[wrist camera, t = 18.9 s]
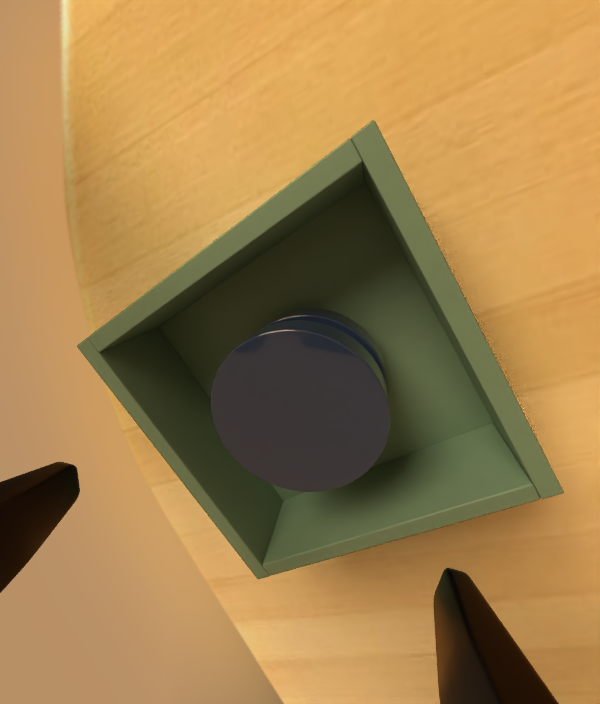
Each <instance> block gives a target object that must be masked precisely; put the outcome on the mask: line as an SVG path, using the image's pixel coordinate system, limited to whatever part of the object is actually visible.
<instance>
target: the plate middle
mask: <svg viewBox="0 0 600 704" xmlns="http://www.w3.org/2000/svg"><path fill="white" fill-rule="evenodd" d="M211 413H212V417H213V422H214V425H215V428H216V431H217V433H218V435H219V437H220V439H221V441H222V443H223V444H224V446H225V447H226V449H227V450H228V452H229V453H230V454H231V455H232V457H233V458H234V459H235V460H236V461H237V462H238V463H239V464H240V465H241V466H243V467H244V468H245V469H246V470H248V471H249V472H250V473H252V474H253V475H255V476H256V477H258V478H260V479H262V480H264V481H265V482H267V483H270V484H272V485H275V486H277V487H281V488H284V489H288V490H294V491H300V492H321V491H327V490H332V489H336V488H339V487H342V486H345V485H347V484H349V483H351V482H353V481H355V480H356V479H358V478H360V477H361V476H362V475H363V474H365V473H366V472H367V471H368V470H369V469H370V468H371V467H372V466H373V465H374V464H375V463H376V461H377V460H378V458H379V457H380V455H381V453H382V451H383V449H384V447H385V445H386V442H387V439H388V435H389V429H390V409H389V399H388V392H387V387H386V383H385V380H384V377H383V374H382V372H381V370H380V368H379V366H378V364H377V363H376V361H375V360H374V359H373V357H372V356H371V354H370V353H369V352H368V351H367V350H366V349H365V348H364V347H363V346H362V345H361V344H360V343H359V342H357V341H356V340H355V339H354V338H352V337H351V336H349V335H348V334H346V333H345V332H343V331H340V330H338V329H336V328H334V327H332V326H329V325H326V324H323V323H318V322H313V321H304V320H292V321H284V322H279V323H275V324H272V325H269V326H266V327H264V328H262V329H260V330H258V331H256V332H255V333H254V334H252V335H251V336H249V337H248V338H247V339H246V340H244V341H243V342H242V343H241V344H240V345H238V346H237V347H236V348H235V349H234V350H233V351H232V352H231V353H230V354H229V355H228V356H227V357H226V358H225V360H224V361H223V362H222V364H221V366H220V367H219V369H218V371H217V373H216V376H215V379H214V381H213V386H212V391H211Z"/></svg>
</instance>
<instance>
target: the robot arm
mask: <svg viewBox="0 0 600 704" xmlns="http://www.w3.org/2000/svg"><path fill="white" fill-rule="evenodd" d="M79 492H80V488H79V480H78V473H77V468H76V467H75V466H74V465H71V464H68V463H64V462H56V463H53V464H50V465H48V466H45V467H42V468H39V469H36V470H34V471H31V472H28V473H25V474H22V475H19V476H16V477H14V478H11V479H8V480H5V481H2V482H0V593H1V592H2V590H3V589H4V588H5V587H6V586H7V585H8V584H9V583H10V582H11V581H12V579H13V578H14V577H15V576H16V575H17V574H18V573H19V572H20V571H21V569H22V568H23V567H24V566H25V565H26V564H27V563H28V561H29V560H30V559H31V558H32V557H33V555H34V554H35V553H36V552H37V550H38V549H39V548H40V546H41V545H42V544H43V542H44V541H45V540H46V539H47V537H48V536H49V535H50V534H51V532H52V530H54V528H55V527H56V526H57V524H58V523H59V522H60V521H61V519H62V518H63V517H64V515H65V514H66V513H67V511H68V510H69V509H70V508H71V506H72V505H73V504H74V502H75V501H76V499H77V498H78V495H79ZM434 620H435V637H436V654H437V671H438V686H439V697H440V704H559V703H558V702H557V701H556V699H555V698H554V696H553V695H552V693H551V692H550V691H549V689H548V688H547V686H546V685H545V683H544V682H543V681H542V679H541V678H540V676H539V675H538V674H537V672H536V671H535V669H534V668H533V666H532V665H531V664H530V662H529V661H528V659H527V658H526V656H525V655H524V654H523V652H522V651H521V649H520V648H519V647H518V645H517V644H516V642H515V641H514V639H513V638H512V637H511V635H510V634H509V632H508V631H507V629H506V628H505V627H504V625H503V624H502V622H501V621H500V619H499V618H498V617H497V615H496V614H495V612H494V611H493V610H492V608H491V607H490V605H489V604H488V602H487V601H486V600H485V598H484V597H483V595H482V594H481V592H480V591H479V590H478V588H477V587H476V585H475V584H474V583H473V581H472V580H471V578H470V577H469V576H468V575H467V574H466V573H464V572H462V571H458V570H454V569H451V568H446V569H445V570H444V572H443V574H442V576H441V579H440V581H439V584H438V586H437V589H436V591H435V595H434Z"/></svg>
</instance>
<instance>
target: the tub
mask: <svg viewBox="0 0 600 704" xmlns="http://www.w3.org/2000/svg"><path fill="white" fill-rule="evenodd" d="M304 308H318V309H325V310H330V311H333V312H336V313H339V314H342V315H344V316H346V317H348V318H350V319H351V320H353V321H354V322H356V323H358V324H359V325H360V326H361V327H362V328H364V329H365V330H366V331H367V332H368V333H369V335H370V336H371V337H372V338H373V339H374V341H375V342H376V344H377V345H378V347H379V349H380V351H381V353H382V355H383V358H384V361H385V365H386V371H387V378H388V399H389V409H390V429H389V435H388V439H387V442H386V445H385V447H384V449H383V451H382V453H381V455H380V457H379V458H378V460H377V461H376V463H375V464H374V465H373V466H372V467H371V468H370V469H369V470H368V471H367V472H366V473H365V474H363V475H362V476H361V477H360V478H358V479H356V480H355V481H353V482H351V483H349V484H347V485H345V486H342V487H339V488H336V489H332V490H327V491H321V492H300V491H294V490H288V489H284V488H281V487H277V486H275V485H272V484H270V483H267V482H265V481H264V480H262V479H260V478H258V477H256V476H255V475H253V474H252V473H250V472H249V471H248V470H246V469H245V468H244V467H243V466H241V465H240V464H239V463H238V462H237V461H236V460H235V459H234V458H233V457H232V455H231V454H230V453H229V452H228V450H227V449H226V447H225V446H224V444H223V443H222V441H221V439H220V437H219V435H218V433H217V431H216V428H215V425H214V422H213V417H212V413H211V391H212V386H213V381H214V379H215V376H216V373H217V371H218V369H219V367H220V366H221V364H222V362H223V361H224V360H225V358H226V357H227V356H228V355H229V354H230V353H231V352H232V351H233V350H234V349H235V348H236V347H237V346H238V345H240V344H241V343H242V342H243V341H244V340H246V339H247V338H248V337H249V336H251V335H252V334H254V333H255V332H256V331H258V330H260V329H261V328H262V327H263V326H264V325H265V324H267V323H268V322H269V321H271V320H272V319H274V318H275V317H277V316H279V315H281V314H283V313H286V312H289V311H292V310H297V309H304ZM77 347H78V348H79V349H80V351H81V352H82V354H83V355H84V356H85V357H86V359H87V360H88V361H89V363H90V364H91V365H92V366H93V368H94V369H95V370H96V372H97V373H98V374H99V375H100V377H101V378H102V379H103V381H104V382H105V383H106V384H107V386H108V387H109V388H110V390H111V391H112V392H113V393H114V395H115V396H116V397H117V399H118V400H119V401H120V402H121V404H122V405H123V406H124V408H125V409H126V410H127V411H128V413H129V414H130V415H131V417H132V418H133V419H134V421H135V422H136V423H137V424H138V426H139V427H140V428H141V430H142V431H143V432H144V433H145V435H146V436H147V437H148V439H149V440H150V441H151V442H152V444H153V445H154V446H155V448H156V449H157V450H158V451H159V453H160V454H161V455H162V457H163V458H164V459H165V460H166V462H167V463H168V464H169V466H170V467H171V468H172V469H173V471H174V472H175V473H176V475H177V476H178V477H179V478H180V480H181V481H182V482H183V484H184V485H185V486H186V487H187V489H188V490H189V491H190V493H191V494H192V495H193V496H194V498H195V499H196V500H197V502H198V503H199V504H200V505H201V507H202V508H203V509H204V511H205V512H206V513H207V514H208V516H209V517H210V518H211V520H212V521H213V522H214V523H215V525H216V526H217V527H218V529H219V530H220V531H221V532H222V534H223V535H224V536H225V538H226V539H227V540H228V542H229V543H230V544H231V545H232V547H233V548H234V549H235V551H236V552H237V553H238V554H239V556H240V557H241V558H242V560H243V561H244V562H245V563H246V565H247V566H248V567H249V569H250V570H251V571H252V572H253V574H254V575H255V576H256V578H257V579H261V578H265V577H268V576H270V575H274V574H278V573H281V572H285V571H289V570H292V569H296V568H299V567H303V566H306V565H310V564H313V563H317V562H320V561H324V560H327V559H331V558H335V557H338V556H342V555H345V554H349V553H352V552H356V551H359V550H363V549H366V548H370V547H373V546H377V545H380V544H384V543H388V542H391V541H395V540H398V539H402V538H405V537H409V536H412V535H416V534H419V533H423V532H426V531H430V530H434V529H437V528H441V527H444V526H448V525H451V524H455V523H458V522H462V521H465V520H469V519H472V518H476V517H480V516H483V515H487V514H490V513H494V512H497V511H501V510H504V509H508V508H511V507H515V506H518V505H522V504H526V503H529V502H533V501H536V500H539V499H540V498H541V499H545V498H548V497H552V496H555V495H559V494H562V493H564V492H563V490H562V488H561V486H560V484H559V482H558V480H557V478H556V476H555V474H554V472H553V470H552V468H551V466H550V464H549V462H548V460H547V458H546V456H545V454H544V452H543V450H542V448H541V446H540V444H539V442H538V440H537V438H536V436H535V434H534V433H533V431H532V429H531V427H530V425H529V423H528V421H527V419H526V417H525V415H524V413H523V411H522V409H521V407H520V405H519V403H518V401H517V399H516V397H515V395H514V393H513V391H512V389H511V387H510V385H509V383H508V381H507V379H506V378H505V376H504V374H503V372H502V370H501V368H500V366H499V364H498V362H497V360H496V358H495V356H494V354H493V352H492V350H491V348H490V346H489V344H488V342H487V340H486V338H485V336H484V334H483V332H482V330H481V328H480V326H479V324H478V322H477V321H476V319H475V317H474V315H473V313H472V311H471V309H470V307H469V305H468V303H467V301H466V299H465V297H464V295H463V293H462V291H461V289H460V287H459V285H458V283H457V281H456V279H455V277H454V275H453V273H452V271H451V269H450V267H449V265H448V264H447V262H446V260H445V258H444V256H443V254H442V252H441V250H440V248H439V246H438V244H437V242H436V240H435V238H434V236H433V234H432V232H431V230H430V228H429V226H428V224H427V222H426V220H425V218H424V216H423V214H422V212H421V210H420V208H419V207H418V205H417V203H416V201H415V199H414V197H413V195H412V193H411V191H410V189H409V187H408V185H407V183H406V181H405V179H404V177H403V175H402V173H401V171H400V169H399V167H398V165H397V163H396V161H395V159H394V157H393V155H392V153H391V151H390V150H389V148H388V146H387V144H386V142H385V140H384V138H383V136H382V134H381V132H380V130H379V128H378V126H377V124H376V122H375V121H374V120H373V121H371V122H370V123H369V124H367V125H366V126H365V127H363V128H362V129H361V130H359V131H358V132H357V133H355V134H354V135H353V136H352V137H351V139H348V140H346V141H345V142H344V143H342V144H341V145H340V146H338V147H337V148H336V149H334V150H333V151H332V152H331V153H329V154H328V155H327V156H325V157H324V158H323V159H321V160H320V161H319V162H317V163H316V164H315V165H313V166H312V167H311V168H310V169H308V170H307V171H306V172H304V173H303V174H302V175H300V176H299V177H298V178H296V179H295V180H294V181H292V182H291V183H290V184H289V185H287V186H286V187H285V188H283V189H282V190H281V191H279V192H278V193H277V194H275V195H274V196H273V197H272V198H270V199H269V200H268V201H266V202H265V203H264V204H262V205H261V206H260V207H258V208H257V209H256V210H254V211H253V212H252V213H251V214H249V215H248V216H247V217H245V218H244V219H243V220H241V221H240V222H239V223H237V224H236V225H235V226H233V227H232V228H231V229H230V230H228V231H227V232H226V233H224V234H223V235H222V236H220V237H219V238H218V239H216V240H215V241H214V242H212V243H211V244H210V245H209V246H207V247H206V248H205V249H203V250H202V251H201V252H199V253H198V254H197V255H195V256H194V257H193V258H191V259H190V260H189V261H188V262H186V263H185V264H184V265H182V266H181V267H180V268H178V269H177V270H176V271H174V272H173V273H172V274H170V275H169V276H168V277H167V278H165V279H164V280H163V281H161V282H160V283H159V284H157V285H156V286H155V287H153V288H152V289H151V290H149V291H148V292H147V293H146V294H144V295H143V296H142V297H140V298H139V299H138V300H136V301H135V302H134V303H132V304H131V305H130V306H128V307H127V308H126V309H125V310H123V311H122V312H121V313H119V314H118V315H117V316H115V317H114V318H113V319H111V320H110V321H109V322H107V323H106V324H105V325H104V326H102V327H101V328H100V329H98V330H97V331H96V332H94V333H93V334H92V335H90V336H89V337H88V338H86V339H85V340H84V341H82V342H81V343H80V344H79V345H78V346H77Z"/></svg>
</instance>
